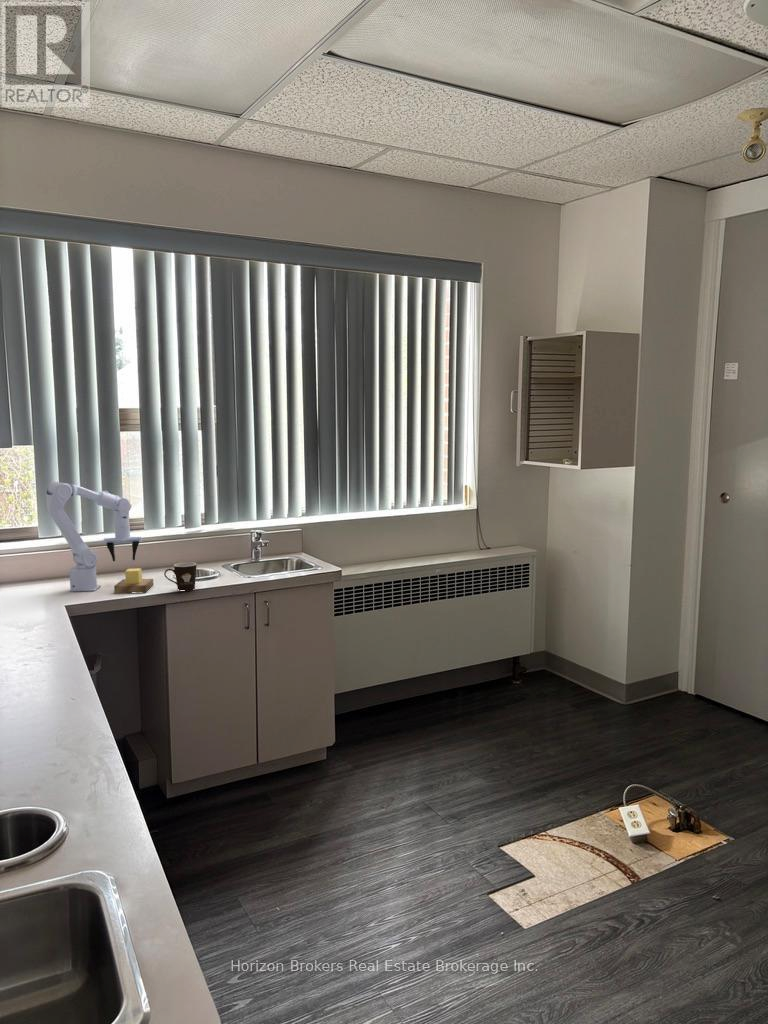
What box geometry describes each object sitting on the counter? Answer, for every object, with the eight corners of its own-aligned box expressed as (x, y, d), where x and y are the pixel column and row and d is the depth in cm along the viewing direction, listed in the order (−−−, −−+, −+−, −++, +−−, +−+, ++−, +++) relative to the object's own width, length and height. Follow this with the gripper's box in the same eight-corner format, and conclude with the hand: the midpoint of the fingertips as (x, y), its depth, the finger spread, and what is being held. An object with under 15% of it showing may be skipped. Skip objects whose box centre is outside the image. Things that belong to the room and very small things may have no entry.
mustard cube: (125, 583, 299) (125, 571, 299) (129, 581, 304) (128, 568, 304) (139, 583, 300) (138, 570, 299) (142, 580, 305) (141, 568, 304)
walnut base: (114, 593, 296) (114, 586, 296) (123, 586, 308) (122, 579, 308) (146, 592, 297) (145, 585, 297) (153, 586, 309) (153, 578, 309)
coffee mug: (200, 587, 305) (199, 562, 304) (193, 592, 297) (192, 566, 296) (172, 587, 307) (171, 562, 305) (164, 592, 298) (162, 566, 297)
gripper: (102, 529, 307) (104, 563, 308) (140, 527, 310) (141, 561, 312) (104, 527, 313) (106, 559, 315) (141, 525, 317) (143, 558, 318)
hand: (124, 560), depth 314 cm, fingers open, 7 cm apart
